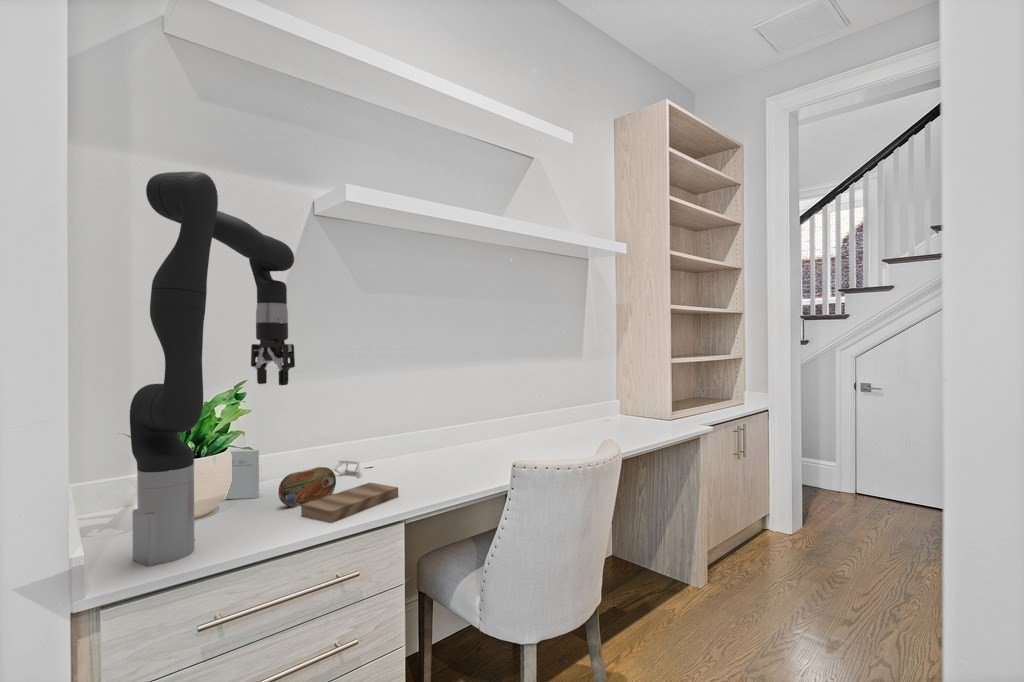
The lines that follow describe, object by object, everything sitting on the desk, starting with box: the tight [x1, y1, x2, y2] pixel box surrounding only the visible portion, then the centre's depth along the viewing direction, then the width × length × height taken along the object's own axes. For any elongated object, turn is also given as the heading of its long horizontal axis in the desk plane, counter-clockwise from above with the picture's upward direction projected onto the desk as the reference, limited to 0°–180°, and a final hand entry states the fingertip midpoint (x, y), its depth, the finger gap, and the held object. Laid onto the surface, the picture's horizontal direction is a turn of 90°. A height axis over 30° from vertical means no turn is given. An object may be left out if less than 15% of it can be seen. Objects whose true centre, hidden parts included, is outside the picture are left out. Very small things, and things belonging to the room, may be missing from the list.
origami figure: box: [331, 456, 360, 478], centre depth 162 cm, size 12×8×5 cm
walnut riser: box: [300, 482, 399, 524], centre depth 131 cm, size 22×10×3 cm, turn 150°
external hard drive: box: [225, 449, 260, 500], centre depth 139 cm, size 2×8×12 cm, turn 96°
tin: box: [278, 466, 337, 508], centre depth 135 cm, size 15×3×8 cm, turn 143°
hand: (272, 384), depth 136 cm, fingers open, 8 cm apart
